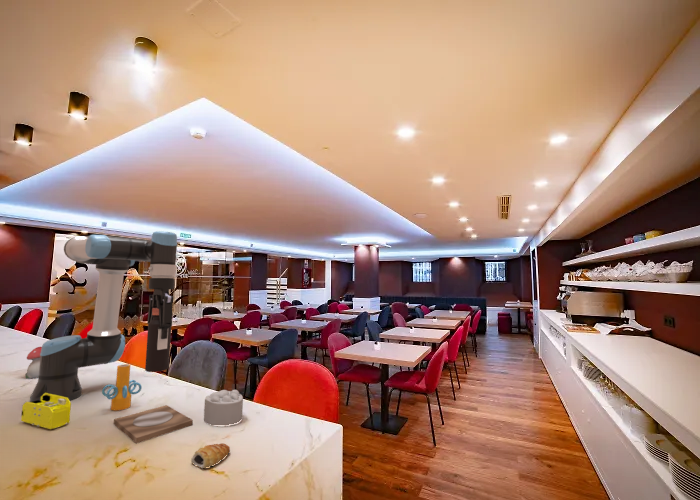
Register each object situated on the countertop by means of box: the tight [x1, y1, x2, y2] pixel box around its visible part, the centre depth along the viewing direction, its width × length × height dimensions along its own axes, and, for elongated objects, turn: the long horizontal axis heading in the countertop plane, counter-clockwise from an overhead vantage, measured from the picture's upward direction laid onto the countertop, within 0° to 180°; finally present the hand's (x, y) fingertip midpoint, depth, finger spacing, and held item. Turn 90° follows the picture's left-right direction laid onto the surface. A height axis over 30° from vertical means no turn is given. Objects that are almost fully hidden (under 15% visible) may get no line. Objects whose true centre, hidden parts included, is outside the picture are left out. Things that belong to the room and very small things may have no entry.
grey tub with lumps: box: [203, 389, 244, 426], centre depth 110 cm, size 10×13×9 cm
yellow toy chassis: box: [20, 393, 72, 430], centre depth 106 cm, size 16×6×8 cm, turn 69°
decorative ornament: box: [24, 346, 42, 379], centre depth 158 cm, size 9×6×15 cm
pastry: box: [190, 443, 231, 469], centre depth 85 cm, size 9×7×4 cm
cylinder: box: [101, 363, 142, 411], centre depth 120 cm, size 12×10×15 cm
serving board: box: [113, 404, 194, 444], centre depth 106 cm, size 20×16×2 cm
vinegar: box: [144, 308, 172, 373], centre depth 108 cm, size 7×7×20 cm
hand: (157, 347), depth 108 cm, fingers closed on vinegar, 6 cm apart
